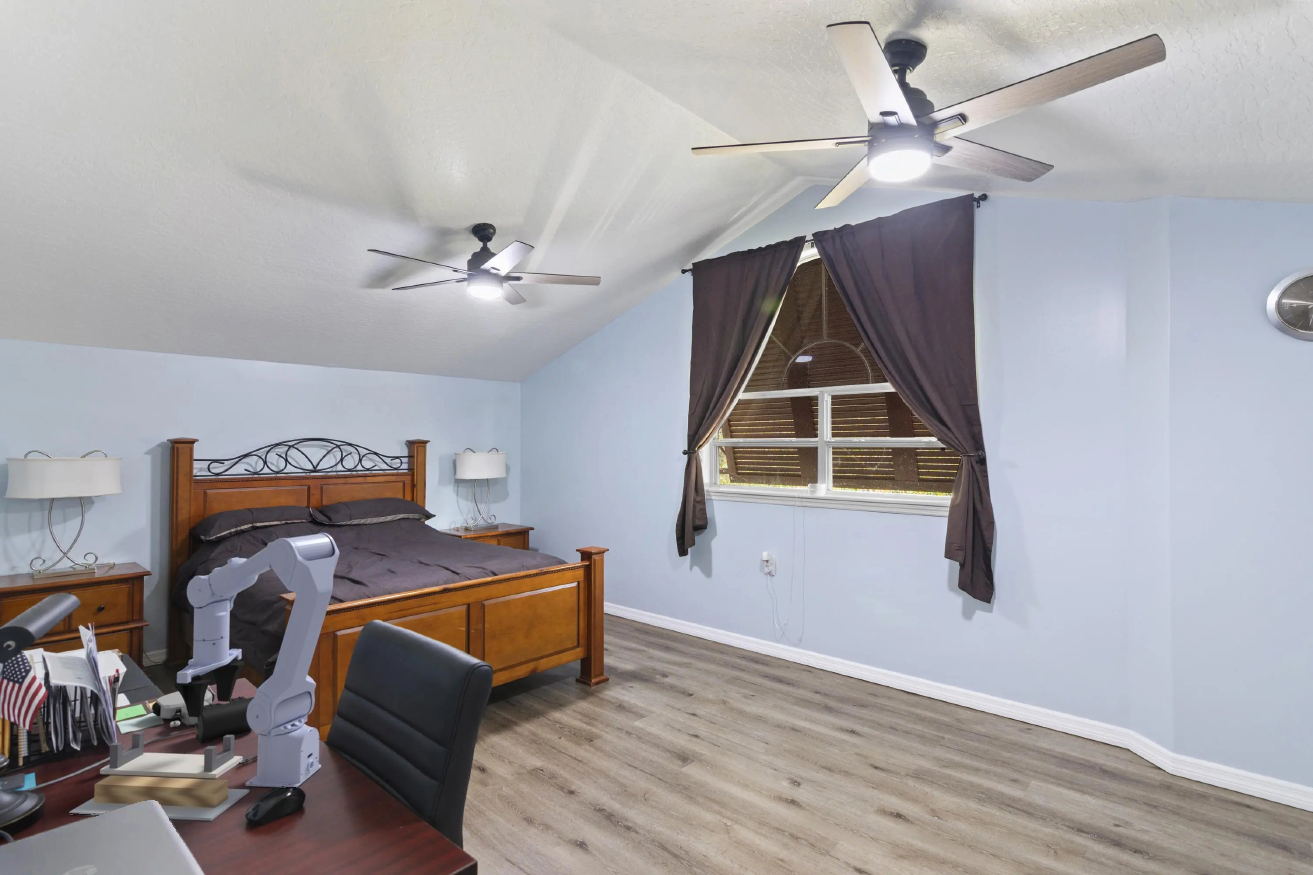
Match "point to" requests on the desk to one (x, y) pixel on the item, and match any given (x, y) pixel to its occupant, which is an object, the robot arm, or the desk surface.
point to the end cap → (223, 720)
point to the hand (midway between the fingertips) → (210, 708)
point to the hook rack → (170, 761)
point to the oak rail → (161, 791)
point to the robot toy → (178, 708)
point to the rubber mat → (169, 808)
